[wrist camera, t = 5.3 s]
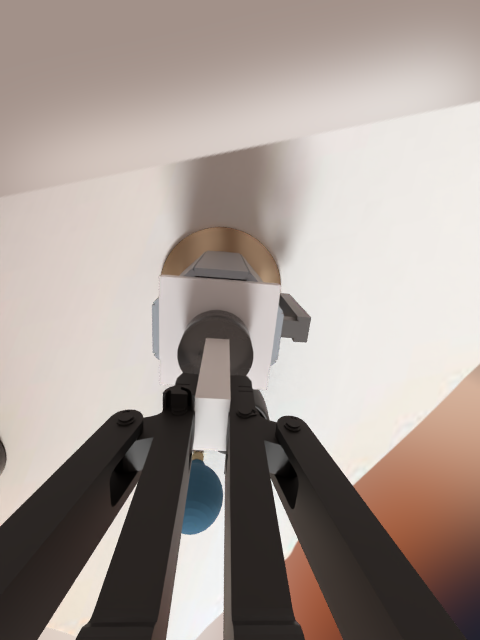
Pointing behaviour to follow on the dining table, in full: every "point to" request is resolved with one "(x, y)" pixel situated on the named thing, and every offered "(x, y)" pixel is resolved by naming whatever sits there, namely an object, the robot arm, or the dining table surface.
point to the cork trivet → (225, 242)
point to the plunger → (215, 327)
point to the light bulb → (201, 497)
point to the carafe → (228, 295)
